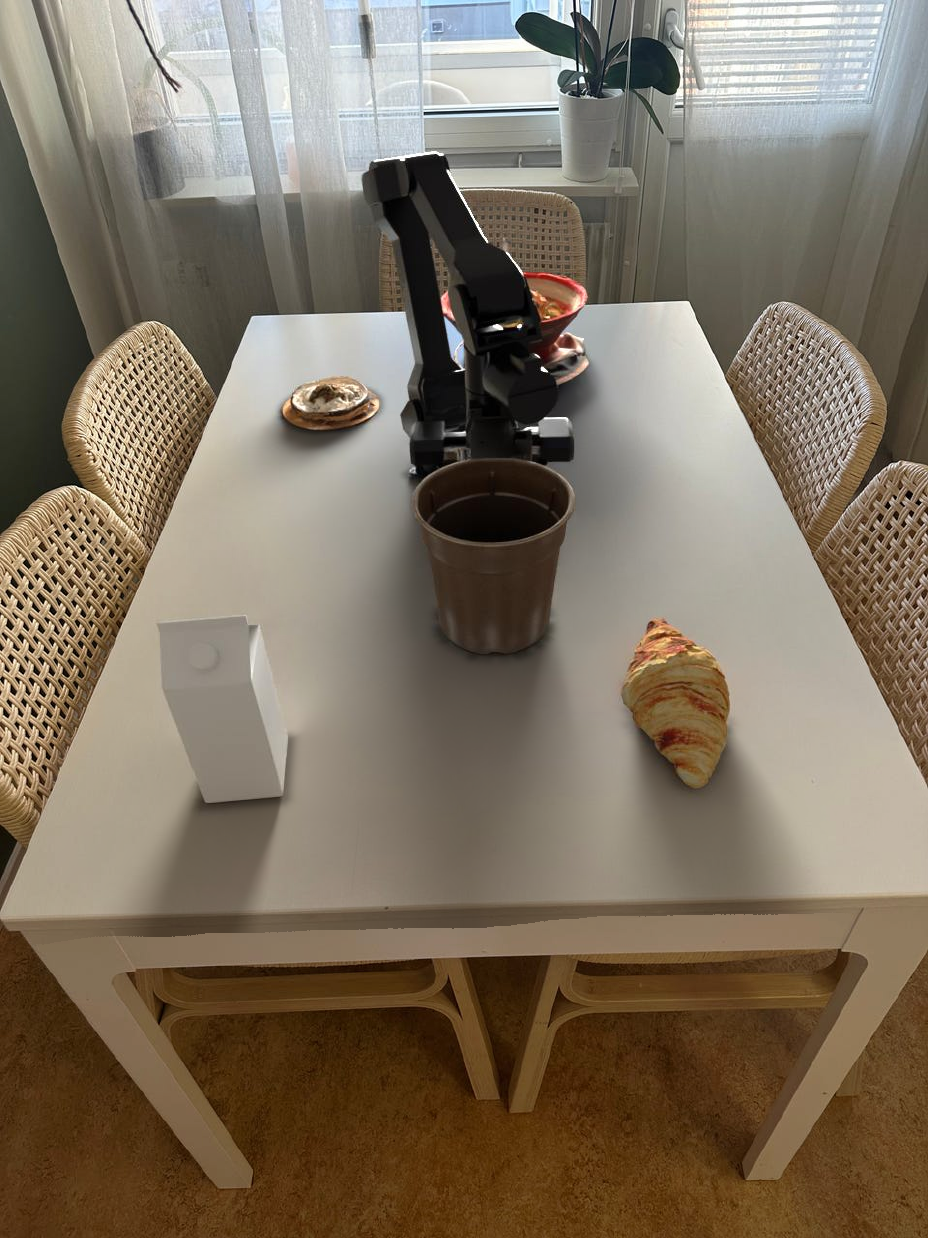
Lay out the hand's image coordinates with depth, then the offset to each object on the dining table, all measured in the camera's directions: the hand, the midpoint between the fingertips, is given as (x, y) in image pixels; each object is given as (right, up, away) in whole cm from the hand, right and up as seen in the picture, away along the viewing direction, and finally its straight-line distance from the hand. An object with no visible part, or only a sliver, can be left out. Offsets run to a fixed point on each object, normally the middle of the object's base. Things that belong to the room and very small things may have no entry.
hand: (492, 502), depth 107 cm
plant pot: (0, -14, -9) cm, 17 cm away
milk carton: (-24, -29, -24) cm, 44 cm away
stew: (+5, +28, +39) cm, 48 cm away
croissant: (+17, -23, -20) cm, 35 cm away
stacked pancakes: (-24, +19, +30) cm, 43 cm away
